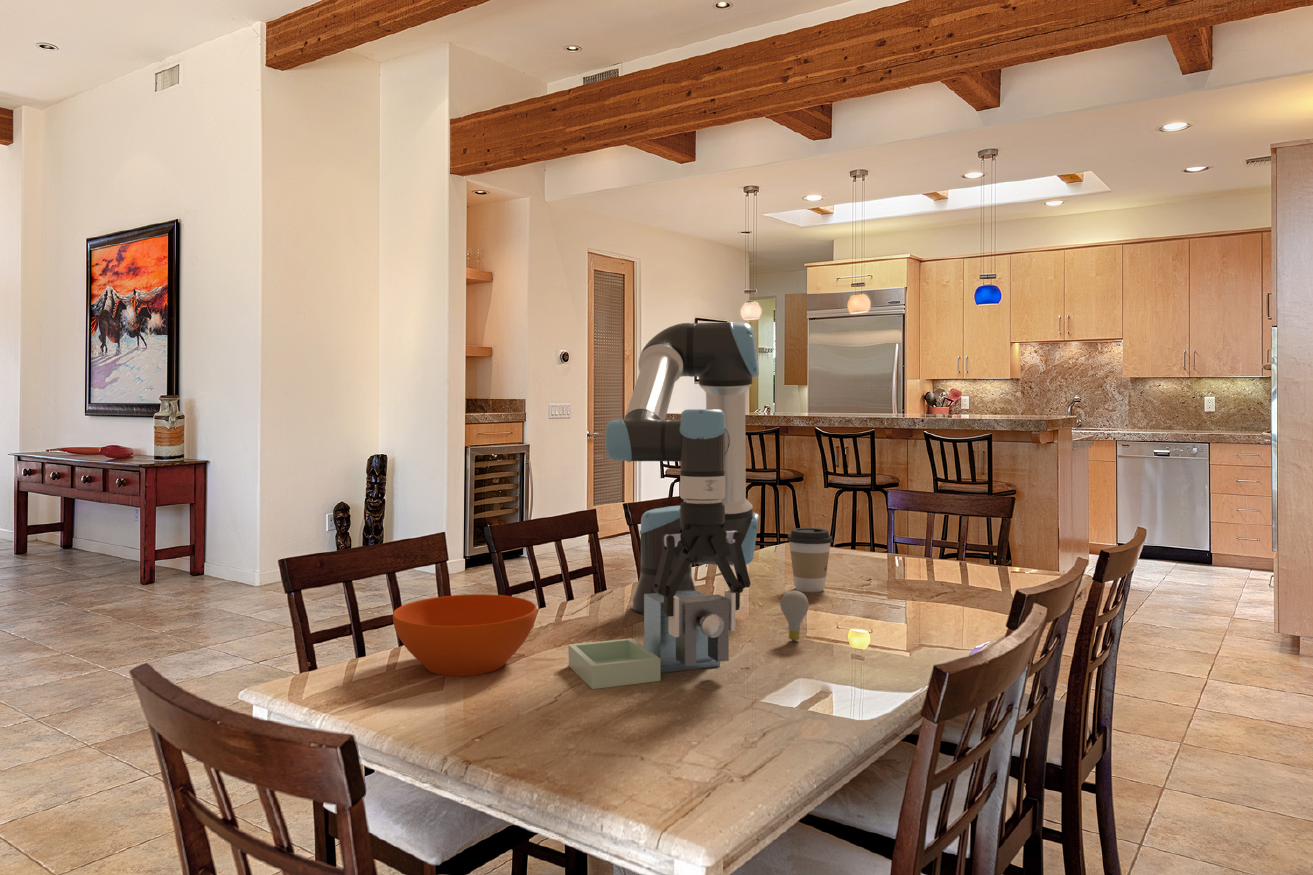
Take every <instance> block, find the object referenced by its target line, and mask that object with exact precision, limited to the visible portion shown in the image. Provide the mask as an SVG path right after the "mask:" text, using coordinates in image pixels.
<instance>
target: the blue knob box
mask: <svg viewBox="0 0 1313 875" xmlns="http://www.w3.org/2000/svg"><path fill="white" fill-rule="evenodd" d="M675 596H676V597H678V598H682V597H694V596H706V594H704V593H702V592H700V591H697V589H696V590H687V591H676V594H675ZM643 618H644V620H643V624H644V626H643V627H644V628H643V632H644V633H643V636H644V637H643V641H644V642H643V646H644V647H645V648H646V649H648V650H649V651H651V652H652V653H653V654H655V655H656V656H658V657H659V658H660V674H667V673H674V672H682V671H691V670H700V669H708V668H716V667H717V668H718V667H720V666H721V662H717V661H715V660H714V659H712V658H711V657H709V656H708V637H710V638H715V637H718V636H719V635H720V634H721V633H722V631H723V629H724V622H723V620H722V618H721V617H720V616H718V615H716V614H708V615H706V616H700V617H696V665H688V666H685V665H683V664H682V663H680V662H679V661H677V660H676V637H674V636H672V635H670V634H669V617H668V616H666V615H665V614H664V597H663V595H660V594H658V593H650V594H644V614H643Z"/></svg>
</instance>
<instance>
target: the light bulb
mask: <svg viewBox="0 0 1313 875" xmlns="http://www.w3.org/2000/svg"><path fill="white" fill-rule="evenodd" d="M809 605H810V604H809V600H808V598H807V596H806V595H805V594H804V593H803V592H802V591H798V590H796V589H795V590H793V589H792V590H789V591H787V592H786V593H784V594H783V596H782V597H781V600H780V609H781V612H782V614H783V615H784V617H785V619H786V621H787V623H788V639H789V640H791V641H792V642H794V641H795V642H796V641H799V640H800V637H801V635H800V634H801V633H800V631H801V623H802V621H803V620H804V618H805V617H806V615H807V613H808V610H809Z"/></svg>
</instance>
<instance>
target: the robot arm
mask: <svg viewBox="0 0 1313 875" xmlns="http://www.w3.org/2000/svg"><path fill="white" fill-rule="evenodd" d="M754 332H755V331H754V328H753V327H752V325H751V324H749V323H745V322H736V321H735V322H734V321H725V322H724V321H723V322H693V323H691V322H683V323H679V324H674V325H671V326H669V327H667V328H665V329H662V331H660V332H659V333H657V334H655V335H654V336H653V337H652V338H651V339H650V340H649V341H648V342H647V343H646V344H645V346H644V347H643V348H642V351H641V353H640V355H639V358H638V363H637V364H638V370H639V373H638V377H637V379H636V382H635V385H634V388H633V391H632V394H631V397H630V400H629V403H628V405H627V409H626V412H625V415H624V417H623V418H619V419H612V420H610V421H608V423H607V424H606V425H607V426H606V427H605V439H604V440H605V441H604V442H605V452H606V455H607V457H608V459H610V460H612V461H618V462H619V461H620V462H621V461H622V462H627V463H631V462H680V472H679V473H680V474H679V476H680V480H679V484H680V485H679V486H680V487H679V488H680V489H679V494H680V495H679V496H680V497H679V498H681V499H682V500H683V501H681V503H679V505H671V506H665V507H659V508H658V507H657V508H653V509H649V510H646V511H645V512H644V513H643V514H642V515H641V518H640V530H639V534H640V576H639V579H638V582H637V586H636V589H635V592H634V595H633V599H632V610H633V611H634V612H636V613H639V614H642V615H644V594H650V593H658V594H660V595H663V597H664V614H665V615H666V616H668V617H669V634H670V635H672V636H674V637H679V598H678V597H676V596H675V594H676V591H687V590H696V591H697V588H696V586H695V582H694V579H693V576H692V574H693V573H692V565H716V566H717V569H719V571H720V573H721V575H722V577H723V579H724V581H725V583H726V584H727V587H728V589H726V590H724V597H725V598H728V599H729V632H736V611H739V610H740V607H741V605H740V604H741V603H740V602H741V593H743V591H744V589H745V588H747V589H748V588H749V587H750V586H751V583H752V582H751V580H750V576H749V570H748V568H747V565H749V564H751V563H752V562H753V560H754V556H755V548H756V540H757V535H758V527H759V520H760V515H759V514H758V513H756V512H753V504H752V503H751V502H750V501H749V499H747V494H746V493H747V492H746V487H747V486H746V484H747V482H746V481H747V478H746V477H747V476H746V473H747V471H746V468H747V467H746V463H747V462H746V460H747V458H746V455H747V454H746V450H747V449H746V392H747V390H749V389H750V388H751V387H752V386H753V378H756V377H758V376H759V374H760V368H759V358H758V350H757V344H756V336H755V333H754ZM682 377H690V378H691V377H694V378H695V377H698V386H699V387H700V388H701V389H702V390H703V391H704V392H705V405H706V406H705V409H701V408H699V409H698V408H697V409H692V408H691V409H685V410H683V411H682V412H681V415H680V419H666V418H667V413H668V410H669V405H670V403H671V397H672V394H673V390H674V387H675V383H676V382H677V381H678V380H679V379H680V378H682ZM731 566H732V567H734V571H735V573H734V571H733V569H732V567H731Z"/></svg>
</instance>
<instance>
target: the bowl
mask: <svg viewBox="0 0 1313 875" xmlns="http://www.w3.org/2000/svg"><path fill="white" fill-rule="evenodd" d="M537 608H538V607H537V605H536V604H535V603H534V602H532V601H531V600H528V599H525V598H521V597H517V596H516V597H515V596H510V595H502V594H486V593H485V594H484V593H483V594H478V593H477V594H475V593H474V594H456V595H445V596H438V597H437V596H436V597H430V598H425V599H420V600H415V601H412V602H409V603H406V604H403V605H401V606H399V607H398V608H397V607H396V609H394V611H393V613H392V621H393V622H392V623H393V627H394V629H395V632H396V634H397V636H398V638H399V640H400V641H401V643H402V644H403V646H404V647H405V648H406V650H407V651H408V652H409V653H410V654H411V655H412V656H413V658H415V659H416V660H417V661H418V662H420V663H421V664H422V665H423V666H424V667H425V668H426V669H427V670H428V671H429V672H430V673H433V674H437V675H441V676H448V677H449V676H453V677H454V676H455V677H461V676H462V677H464V676H466V677H467V676H476V675H482V674H486V673H491V672H494V671H497V670H499V669H501V668H502V667H504V666H505V665H506V663H507V662H508V661H509V659H510V658H512V657H513V655H514V654H516V652H517V651H518V650H520V648H521V647H522V645H523V644H524V643H525V641H526V640H527V638H528V637H529V635H530V632H531V631H532V629H533V627H534V624H535V621H536V617H537V612H538V609H537Z"/></svg>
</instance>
